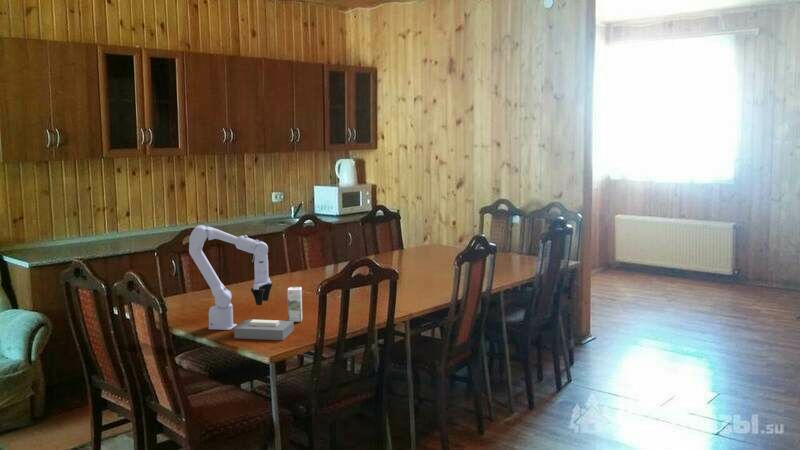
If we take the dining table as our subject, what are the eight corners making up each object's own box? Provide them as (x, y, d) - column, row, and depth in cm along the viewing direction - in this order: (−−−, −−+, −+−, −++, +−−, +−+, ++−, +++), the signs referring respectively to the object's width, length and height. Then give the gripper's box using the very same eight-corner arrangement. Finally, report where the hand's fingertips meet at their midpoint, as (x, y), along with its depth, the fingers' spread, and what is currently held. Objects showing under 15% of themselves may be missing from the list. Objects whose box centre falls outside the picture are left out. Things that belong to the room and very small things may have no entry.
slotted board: (234, 338, 288) (234, 328, 287) (247, 328, 301) (247, 319, 301) (283, 340, 285) (282, 330, 284) (293, 330, 298) (293, 321, 298)
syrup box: (302, 318, 317) (301, 286, 315) (301, 322, 311) (300, 289, 309) (289, 319, 316) (288, 286, 314) (287, 322, 311) (287, 289, 309)
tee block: (250, 334, 292) (249, 322, 291) (253, 331, 296) (253, 319, 295) (276, 335, 290) (276, 323, 289) (279, 332, 294) (279, 320, 293)
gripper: (264, 274, 295) (265, 307, 296) (276, 267, 309) (277, 299, 311) (248, 274, 296) (249, 306, 298) (260, 267, 310) (261, 298, 312)
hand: (262, 302), depth 304 cm, fingers open, 7 cm apart
